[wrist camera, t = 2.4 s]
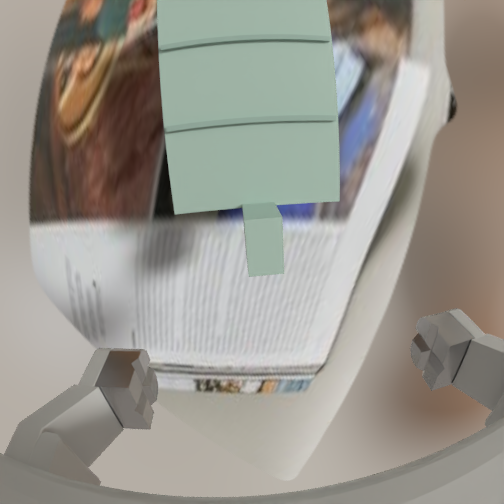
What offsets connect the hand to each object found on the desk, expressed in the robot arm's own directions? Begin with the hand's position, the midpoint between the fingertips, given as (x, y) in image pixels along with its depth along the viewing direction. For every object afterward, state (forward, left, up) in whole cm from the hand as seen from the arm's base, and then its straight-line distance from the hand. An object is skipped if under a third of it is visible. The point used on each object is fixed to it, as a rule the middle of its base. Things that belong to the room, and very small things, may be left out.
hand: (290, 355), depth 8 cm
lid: (-7, 0, -11) cm, 13 cm away
